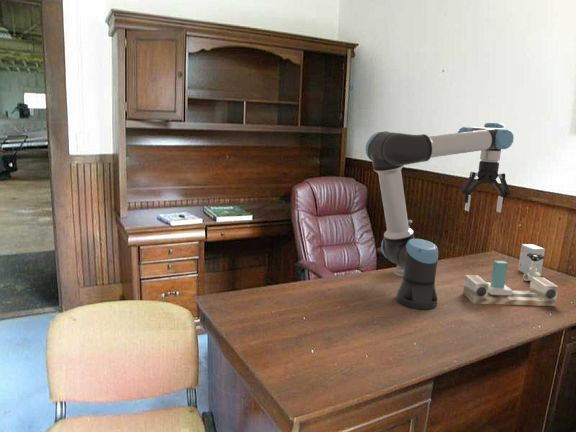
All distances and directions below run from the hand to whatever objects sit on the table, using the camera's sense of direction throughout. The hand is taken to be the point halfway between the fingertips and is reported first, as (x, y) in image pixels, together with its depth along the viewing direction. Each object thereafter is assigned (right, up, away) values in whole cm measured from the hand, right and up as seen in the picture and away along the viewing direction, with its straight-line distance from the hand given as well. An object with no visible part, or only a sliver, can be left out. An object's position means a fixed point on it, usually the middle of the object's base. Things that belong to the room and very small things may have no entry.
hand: (482, 211), depth 192 cm
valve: (+27, -31, +11) cm, 43 cm away
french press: (-28, -28, +14) cm, 42 cm away
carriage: (0, -33, -12) cm, 35 cm away
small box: (+31, -29, +22) cm, 48 cm away
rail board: (+5, -35, -12) cm, 37 cm away
